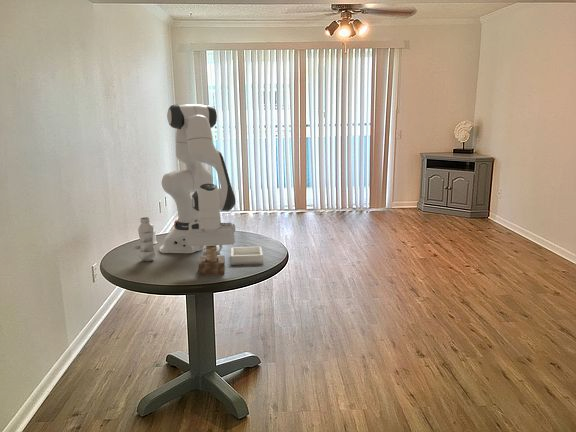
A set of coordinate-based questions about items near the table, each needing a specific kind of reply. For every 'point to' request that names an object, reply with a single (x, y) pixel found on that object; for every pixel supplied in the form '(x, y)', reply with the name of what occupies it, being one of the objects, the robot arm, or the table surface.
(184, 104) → the robot arm
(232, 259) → the tray
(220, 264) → the socket
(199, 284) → the table surface
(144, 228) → the plastic bottle
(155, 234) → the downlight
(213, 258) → the pin
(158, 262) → the table surface
